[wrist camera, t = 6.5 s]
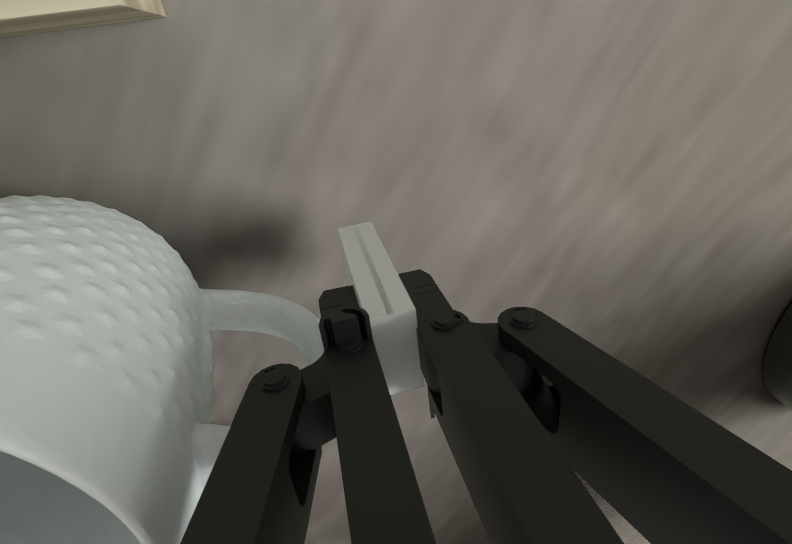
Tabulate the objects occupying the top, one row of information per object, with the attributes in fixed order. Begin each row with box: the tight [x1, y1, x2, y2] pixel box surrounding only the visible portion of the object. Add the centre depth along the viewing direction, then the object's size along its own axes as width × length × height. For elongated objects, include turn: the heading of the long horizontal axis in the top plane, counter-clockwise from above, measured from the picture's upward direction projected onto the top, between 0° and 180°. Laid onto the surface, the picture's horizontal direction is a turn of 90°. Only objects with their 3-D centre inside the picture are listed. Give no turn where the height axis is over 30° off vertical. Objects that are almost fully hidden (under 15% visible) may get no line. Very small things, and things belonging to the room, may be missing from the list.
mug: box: [0, 195, 324, 544], centre depth 14 cm, size 15×11×13 cm
